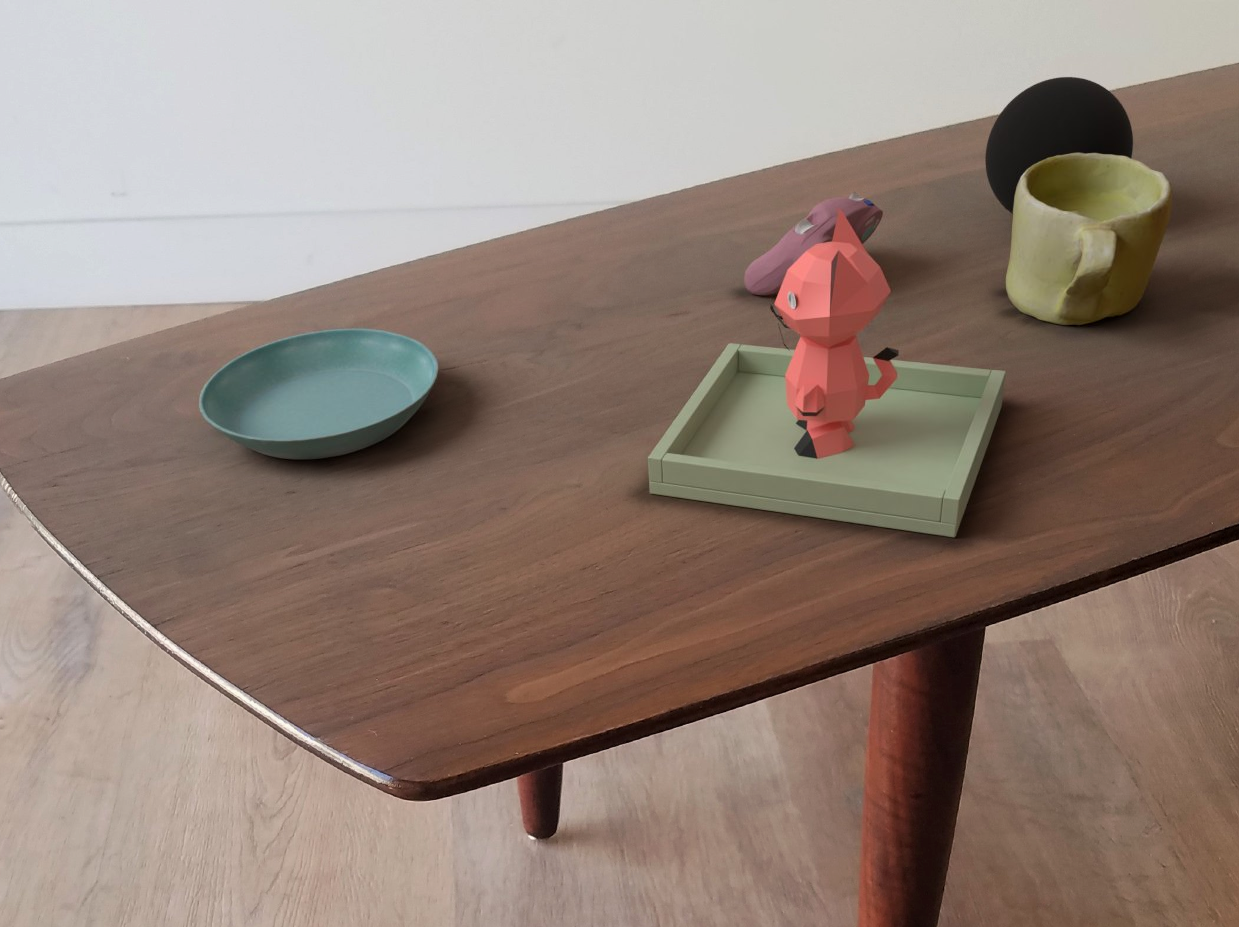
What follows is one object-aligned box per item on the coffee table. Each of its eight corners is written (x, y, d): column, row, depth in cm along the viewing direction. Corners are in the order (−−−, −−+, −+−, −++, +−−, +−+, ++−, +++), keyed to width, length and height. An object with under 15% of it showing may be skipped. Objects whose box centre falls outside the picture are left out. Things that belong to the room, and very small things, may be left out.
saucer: (192, 397, 90) (181, 360, 88) (408, 347, 93) (402, 310, 92) (230, 502, 79) (219, 461, 77) (474, 440, 82) (468, 400, 81)
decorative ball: (1116, 197, 104) (1139, 58, 98) (1124, 248, 97) (1149, 101, 91) (980, 196, 107) (994, 60, 101) (977, 245, 99) (992, 102, 93)
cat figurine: (772, 406, 81) (774, 204, 74) (891, 406, 80) (905, 201, 72) (766, 467, 75) (768, 255, 68) (894, 468, 74) (910, 253, 67)
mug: (992, 233, 96) (1052, 105, 88) (1133, 287, 94) (1207, 163, 86) (948, 337, 89) (1009, 209, 81) (1099, 397, 88) (1177, 273, 79)
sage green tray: (1001, 406, 80) (1006, 370, 79) (955, 538, 70) (959, 499, 69) (729, 376, 86) (729, 342, 85) (649, 493, 76) (647, 457, 74)
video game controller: (781, 327, 95) (823, 248, 89) (733, 286, 96) (771, 205, 90) (861, 278, 100) (905, 201, 94) (815, 240, 101) (856, 161, 95)
